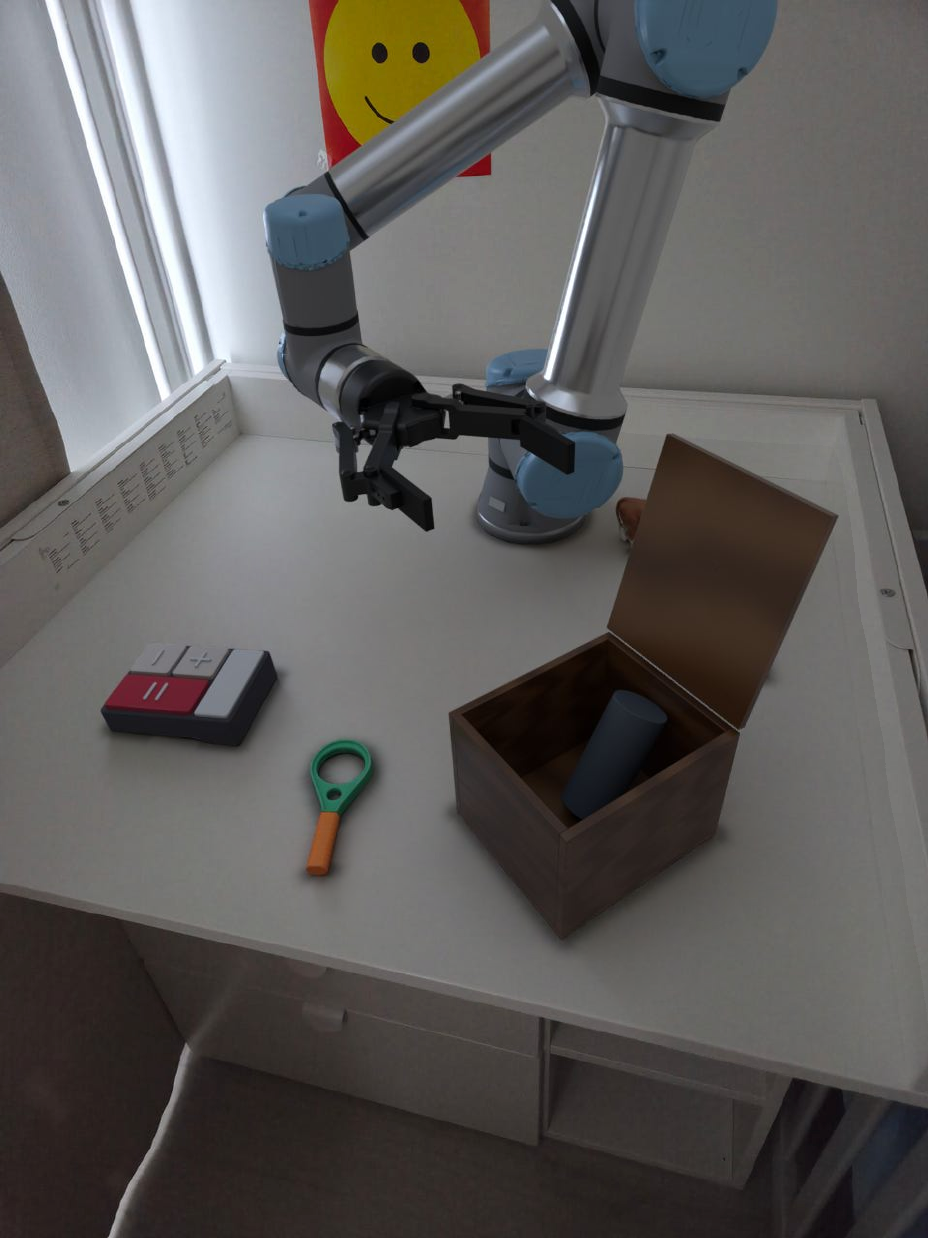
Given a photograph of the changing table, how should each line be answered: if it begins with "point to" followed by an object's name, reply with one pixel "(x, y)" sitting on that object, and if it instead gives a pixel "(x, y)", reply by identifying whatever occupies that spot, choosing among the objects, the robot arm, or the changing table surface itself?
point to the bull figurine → (629, 516)
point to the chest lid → (716, 575)
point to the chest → (545, 759)
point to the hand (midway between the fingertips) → (503, 486)
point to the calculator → (191, 692)
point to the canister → (614, 753)
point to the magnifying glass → (333, 801)
